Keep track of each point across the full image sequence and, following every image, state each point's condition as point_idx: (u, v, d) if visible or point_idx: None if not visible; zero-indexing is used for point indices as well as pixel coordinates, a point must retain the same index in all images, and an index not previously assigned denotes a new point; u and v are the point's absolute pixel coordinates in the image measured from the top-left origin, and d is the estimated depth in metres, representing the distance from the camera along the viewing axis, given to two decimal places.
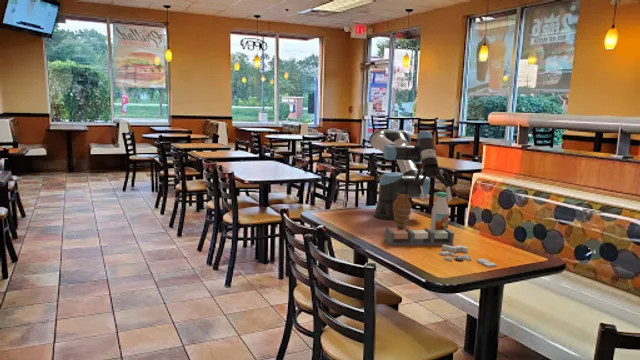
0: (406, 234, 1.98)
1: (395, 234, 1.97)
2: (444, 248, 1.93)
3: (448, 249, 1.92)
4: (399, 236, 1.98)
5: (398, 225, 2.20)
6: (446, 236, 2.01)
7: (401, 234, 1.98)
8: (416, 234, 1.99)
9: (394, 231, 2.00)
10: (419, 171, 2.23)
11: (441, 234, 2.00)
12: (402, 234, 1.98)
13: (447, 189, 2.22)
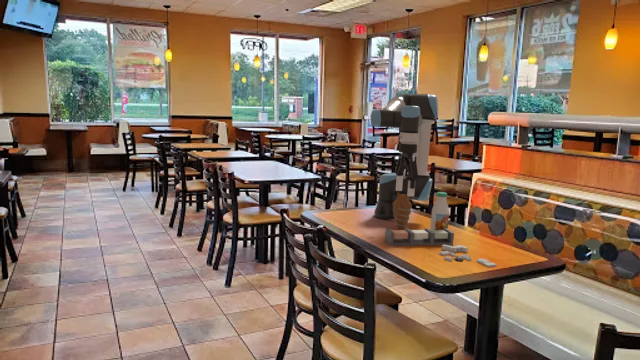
0: (406, 234, 1.98)
1: (395, 234, 1.97)
2: (444, 248, 1.93)
3: (448, 249, 1.92)
4: (399, 236, 1.98)
5: (398, 225, 2.20)
6: (446, 236, 2.01)
7: (401, 234, 1.98)
8: (416, 234, 1.99)
9: (394, 231, 2.00)
10: (398, 158, 2.02)
11: (441, 234, 2.00)
12: (402, 234, 1.98)
13: None
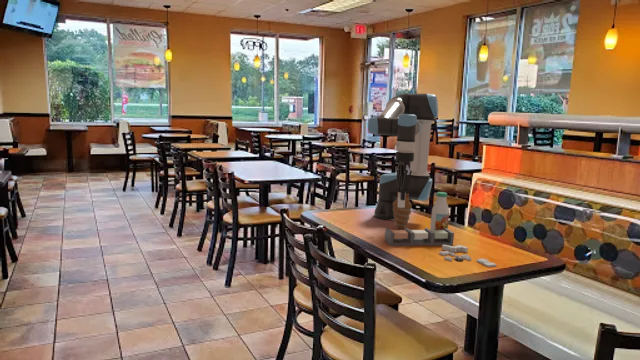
0: (406, 234, 1.98)
1: (395, 234, 1.97)
2: (444, 248, 1.93)
3: (448, 249, 1.92)
4: (399, 236, 1.98)
5: (398, 225, 2.20)
6: (446, 236, 2.01)
7: (401, 234, 1.98)
8: (416, 234, 1.99)
9: (394, 231, 2.00)
10: None
11: (441, 234, 2.00)
12: (402, 234, 1.98)
13: None
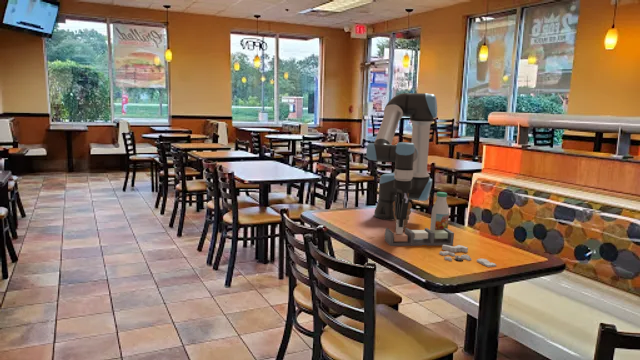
0: (406, 237, 1.98)
1: (395, 237, 1.97)
2: (444, 248, 1.93)
3: (448, 249, 1.92)
4: (399, 239, 1.98)
5: None
6: (446, 236, 2.01)
7: (401, 237, 1.98)
8: (416, 234, 1.99)
9: (394, 234, 2.00)
10: (395, 197, 2.02)
11: (441, 234, 2.00)
12: (402, 237, 1.98)
13: None
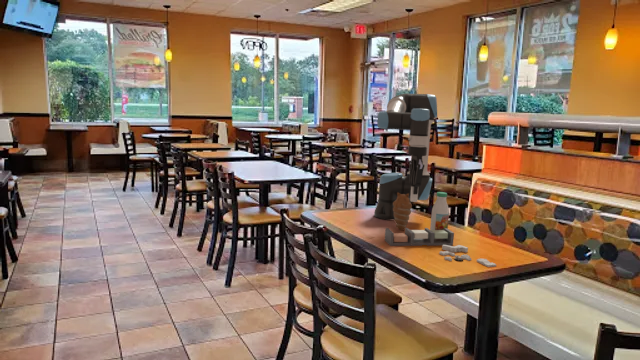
0: (406, 237, 1.98)
1: (395, 237, 1.97)
2: (444, 248, 1.93)
3: (448, 249, 1.92)
4: (399, 239, 1.98)
5: (398, 225, 2.20)
6: (446, 236, 2.01)
7: (401, 237, 1.98)
8: (416, 234, 1.99)
9: (394, 234, 2.00)
10: (409, 165, 2.01)
11: (441, 234, 2.00)
12: (402, 237, 1.98)
13: None
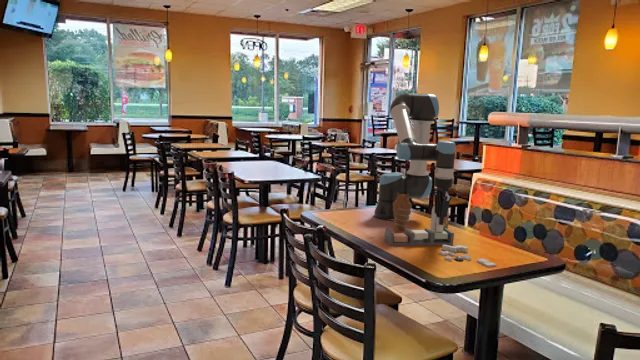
0: (406, 237, 1.98)
1: (395, 237, 1.97)
2: (444, 248, 1.93)
3: (448, 249, 1.93)
4: (399, 239, 1.98)
5: (398, 225, 2.20)
6: (446, 236, 2.01)
7: (401, 237, 1.98)
8: (416, 234, 1.99)
9: (394, 234, 2.00)
10: (434, 195, 2.05)
11: (441, 234, 2.00)
12: (402, 237, 1.98)
13: None
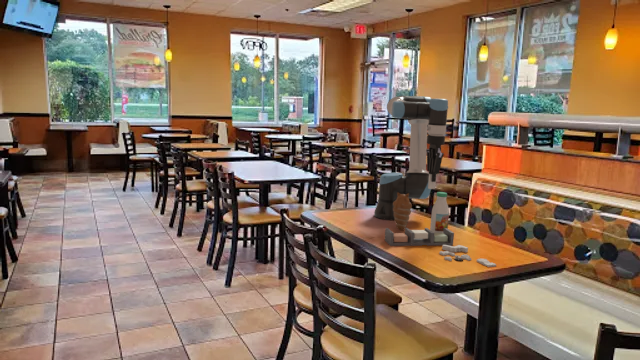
0: (406, 237, 1.98)
1: (395, 237, 1.97)
2: (444, 248, 1.93)
3: (448, 249, 1.93)
4: (399, 239, 1.98)
5: (398, 225, 2.20)
6: (446, 239, 2.01)
7: (401, 237, 1.98)
8: (416, 234, 1.99)
9: (394, 234, 2.00)
10: (427, 153, 2.07)
11: (441, 237, 2.01)
12: (402, 237, 1.98)
13: None
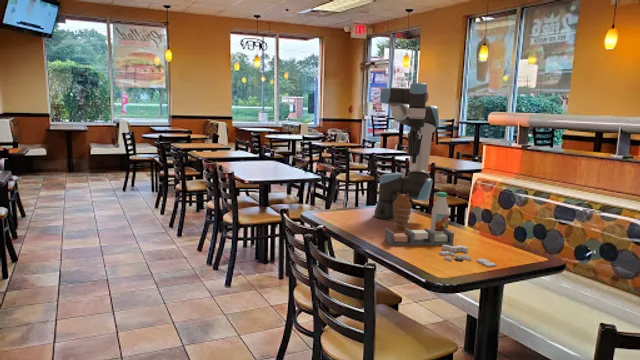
0: (406, 237, 1.98)
1: (395, 237, 1.97)
2: (444, 248, 1.93)
3: (448, 249, 1.93)
4: (399, 239, 1.98)
5: (398, 225, 2.20)
6: (446, 239, 2.01)
7: (401, 237, 1.98)
8: (416, 234, 1.99)
9: (394, 234, 2.00)
10: (408, 137, 2.16)
11: (441, 237, 2.01)
12: (402, 237, 1.98)
13: None
